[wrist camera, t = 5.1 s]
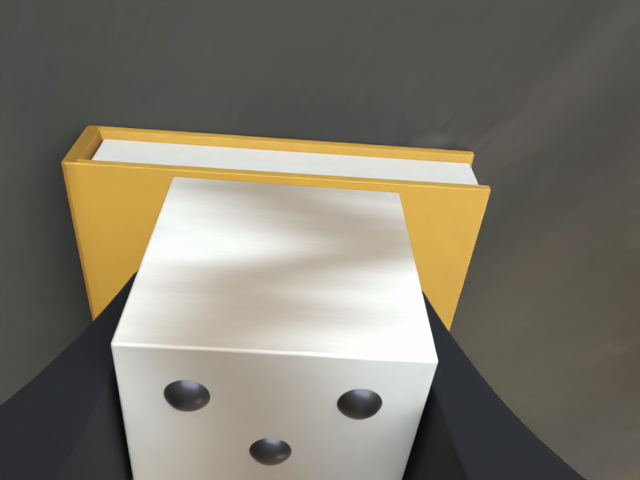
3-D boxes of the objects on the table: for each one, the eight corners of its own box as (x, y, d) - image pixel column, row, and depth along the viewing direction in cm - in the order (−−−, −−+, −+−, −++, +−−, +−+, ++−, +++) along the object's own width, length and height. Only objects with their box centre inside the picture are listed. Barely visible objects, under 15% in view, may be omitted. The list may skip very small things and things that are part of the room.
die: (399, 191, 13) (441, 371, 9) (368, 348, 16) (388, 539, 12) (172, 175, 13) (105, 353, 9) (182, 338, 16) (136, 530, 12)
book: (472, 151, 20) (491, 190, 18) (395, 445, 30) (401, 492, 28) (86, 124, 20) (59, 162, 17) (137, 436, 30) (124, 483, 27)
